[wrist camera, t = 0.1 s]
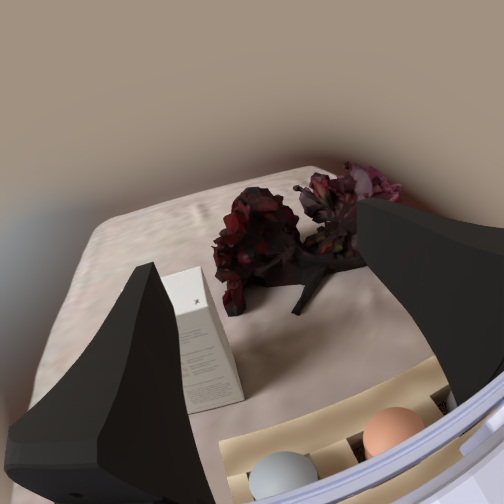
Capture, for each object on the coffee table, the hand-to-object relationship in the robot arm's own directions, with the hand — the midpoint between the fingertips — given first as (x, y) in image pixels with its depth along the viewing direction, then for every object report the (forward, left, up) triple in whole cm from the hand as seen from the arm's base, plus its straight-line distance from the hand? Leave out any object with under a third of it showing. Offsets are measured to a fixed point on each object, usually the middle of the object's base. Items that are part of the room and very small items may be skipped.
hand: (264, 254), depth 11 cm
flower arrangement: (+30, -13, -22) cm, 39 cm away
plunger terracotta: (-2, -6, -19) cm, 20 cm away
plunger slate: (-2, +2, -19) cm, 19 cm away
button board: (-2, -6, -22) cm, 22 cm away
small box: (+13, +7, -22) cm, 26 cm away
